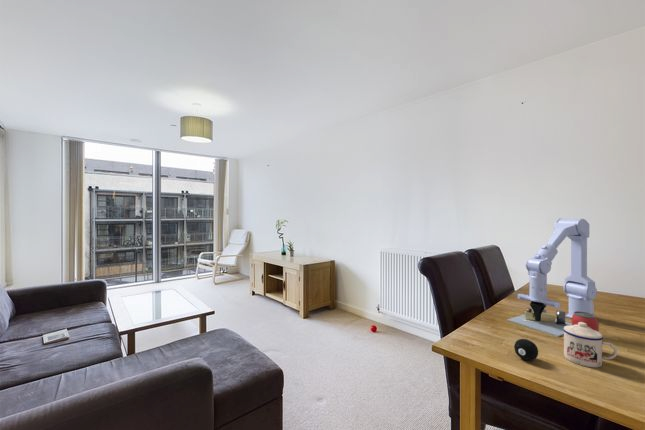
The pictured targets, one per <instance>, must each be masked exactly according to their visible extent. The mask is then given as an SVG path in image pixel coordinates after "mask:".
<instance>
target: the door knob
mask: <svg viewBox="0 0 645 430" xmlns="http://www.w3.org/2000/svg"><path fill="white" fill-rule="evenodd" d="M555 314H556V315H555V316H556V324H558V325H562V326H567V324H566V323H565V322H566V317H565V315H566V311H563V310H556V312H555Z"/></svg>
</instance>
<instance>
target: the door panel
mask: <svg viewBox="0 0 645 430" xmlns="http://www.w3.org/2000/svg"><path fill="white" fill-rule="evenodd" d="M506 321H508V322H510V323H512V324H513V323H514V324H517V325H520V326H522V327H525V328H528V329H529V328H530V329H533V330H536V331H539V332H542V333H545V334H549V335H551V336H555V337H556V338H557V337H558V338H559V337H561V336H564V331H563V328H564V327H565V326H562V325H558V324H556V323H551V322H544V321H535V320H530V319H526V318H525V313H523V314H521V315H517V316H514V317H511V318H508V319H506ZM565 323H566V324H567V326H569V325H572V322H567V321H565Z"/></svg>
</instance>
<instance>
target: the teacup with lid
mask: <svg viewBox="0 0 645 430" xmlns="http://www.w3.org/2000/svg"><path fill="white" fill-rule="evenodd" d="M563 331H564V335H563V356H564V358H566V360H568V361H570V362H572V363H575V364H576V365H579V366H583V367H588V368H600V367H602V365H603V359H604V360H613V359H615V358H616V356H617V355H618V348H617V347H616V346H615V345H614V344H613V343H611V342H608V341H603V339H604V336H603V335H602V333H601V332H597V331H595V330H593V329H591V328H590V327H587V324H586V323H583V322H579V323H578V325H569V326H565V327H564V328H563ZM603 345H605V346H609V347H611V348H612V350H613V353H612V354H611V355H603Z"/></svg>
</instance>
